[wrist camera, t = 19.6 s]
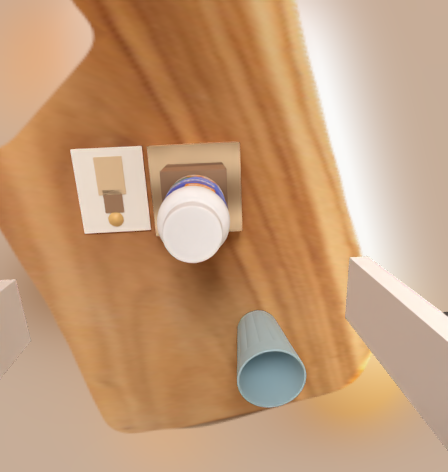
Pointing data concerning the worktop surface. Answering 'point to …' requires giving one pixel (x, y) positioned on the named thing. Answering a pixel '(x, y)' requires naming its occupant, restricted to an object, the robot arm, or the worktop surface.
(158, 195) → the oak base slab
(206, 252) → the pill bottle
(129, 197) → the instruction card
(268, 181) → the worktop surface
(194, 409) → the worktop surface
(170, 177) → the walnut block
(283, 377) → the cup
